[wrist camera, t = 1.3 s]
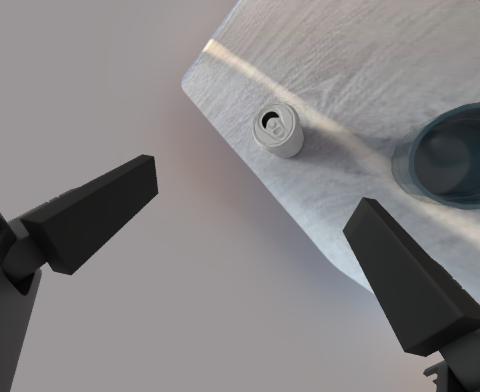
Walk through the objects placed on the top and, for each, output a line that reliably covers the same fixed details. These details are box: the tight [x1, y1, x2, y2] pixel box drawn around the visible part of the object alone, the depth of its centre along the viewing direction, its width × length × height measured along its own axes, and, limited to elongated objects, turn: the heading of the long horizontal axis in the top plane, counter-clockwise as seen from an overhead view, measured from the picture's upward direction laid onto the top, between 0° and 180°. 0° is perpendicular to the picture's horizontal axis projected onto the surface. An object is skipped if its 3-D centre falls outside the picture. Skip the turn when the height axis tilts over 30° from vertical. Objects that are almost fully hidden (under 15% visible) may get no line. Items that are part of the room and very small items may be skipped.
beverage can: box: [253, 102, 304, 158], centre depth 29 cm, size 6×6×12 cm
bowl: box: [392, 102, 480, 209], centre depth 23 cm, size 12×12×6 cm
